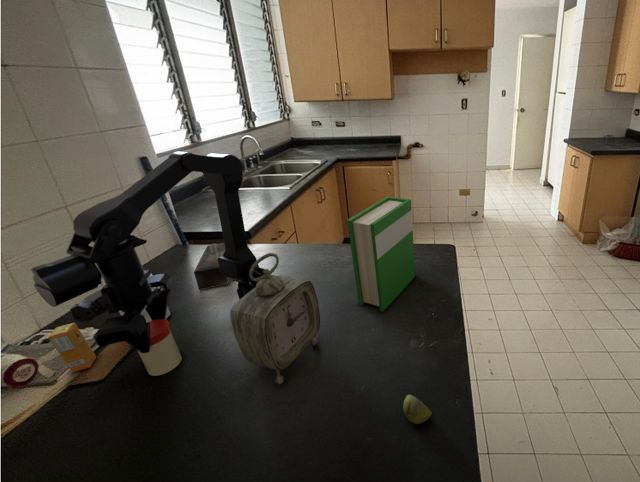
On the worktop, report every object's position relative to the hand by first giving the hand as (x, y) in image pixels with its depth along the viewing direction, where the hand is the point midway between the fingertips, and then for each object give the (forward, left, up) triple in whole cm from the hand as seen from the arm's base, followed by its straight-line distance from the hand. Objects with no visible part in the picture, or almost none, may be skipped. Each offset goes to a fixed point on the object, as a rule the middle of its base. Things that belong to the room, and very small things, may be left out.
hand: (153, 339), depth 68 cm
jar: (+9, -18, -7) cm, 21 cm away
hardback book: (-51, -9, -7) cm, 52 cm away
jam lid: (0, 0, +2) cm, 2 cm away
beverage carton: (-3, -38, -7) cm, 39 cm away
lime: (-47, +30, -7) cm, 56 cm away
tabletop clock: (-25, +8, -7) cm, 27 cm away
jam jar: (0, 0, -7) cm, 7 cm away
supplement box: (+17, -6, -7) cm, 19 cm away
